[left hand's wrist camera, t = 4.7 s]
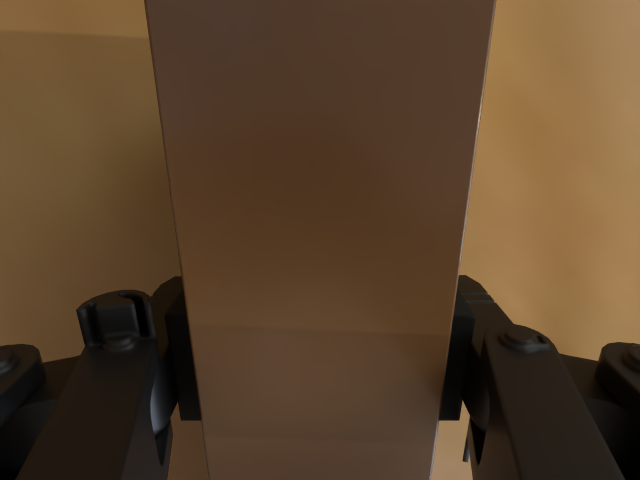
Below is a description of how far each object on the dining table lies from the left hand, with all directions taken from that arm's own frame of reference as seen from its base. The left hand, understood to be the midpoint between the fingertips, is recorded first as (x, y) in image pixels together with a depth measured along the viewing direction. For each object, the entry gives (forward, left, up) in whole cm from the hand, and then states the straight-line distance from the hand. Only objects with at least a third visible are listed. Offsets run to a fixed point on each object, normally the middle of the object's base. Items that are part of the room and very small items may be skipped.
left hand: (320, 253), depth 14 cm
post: (+9, -29, -1) cm, 30 cm away
